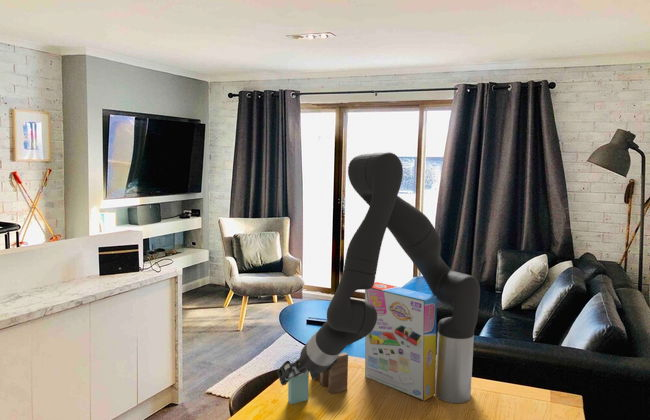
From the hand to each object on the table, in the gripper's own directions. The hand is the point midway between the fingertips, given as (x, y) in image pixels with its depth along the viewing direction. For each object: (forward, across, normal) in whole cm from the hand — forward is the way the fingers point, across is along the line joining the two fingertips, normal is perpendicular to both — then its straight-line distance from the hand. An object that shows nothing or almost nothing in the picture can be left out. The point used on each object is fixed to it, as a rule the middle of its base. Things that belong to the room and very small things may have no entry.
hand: (297, 378), depth 133 cm
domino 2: (+8, -13, +1) cm, 15 cm away
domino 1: (+11, -13, -2) cm, 17 cm away
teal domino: (+5, -1, +4) cm, 6 cm away
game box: (0, -29, +8) cm, 30 cm away
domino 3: (+4, -13, +4) cm, 14 cm away
